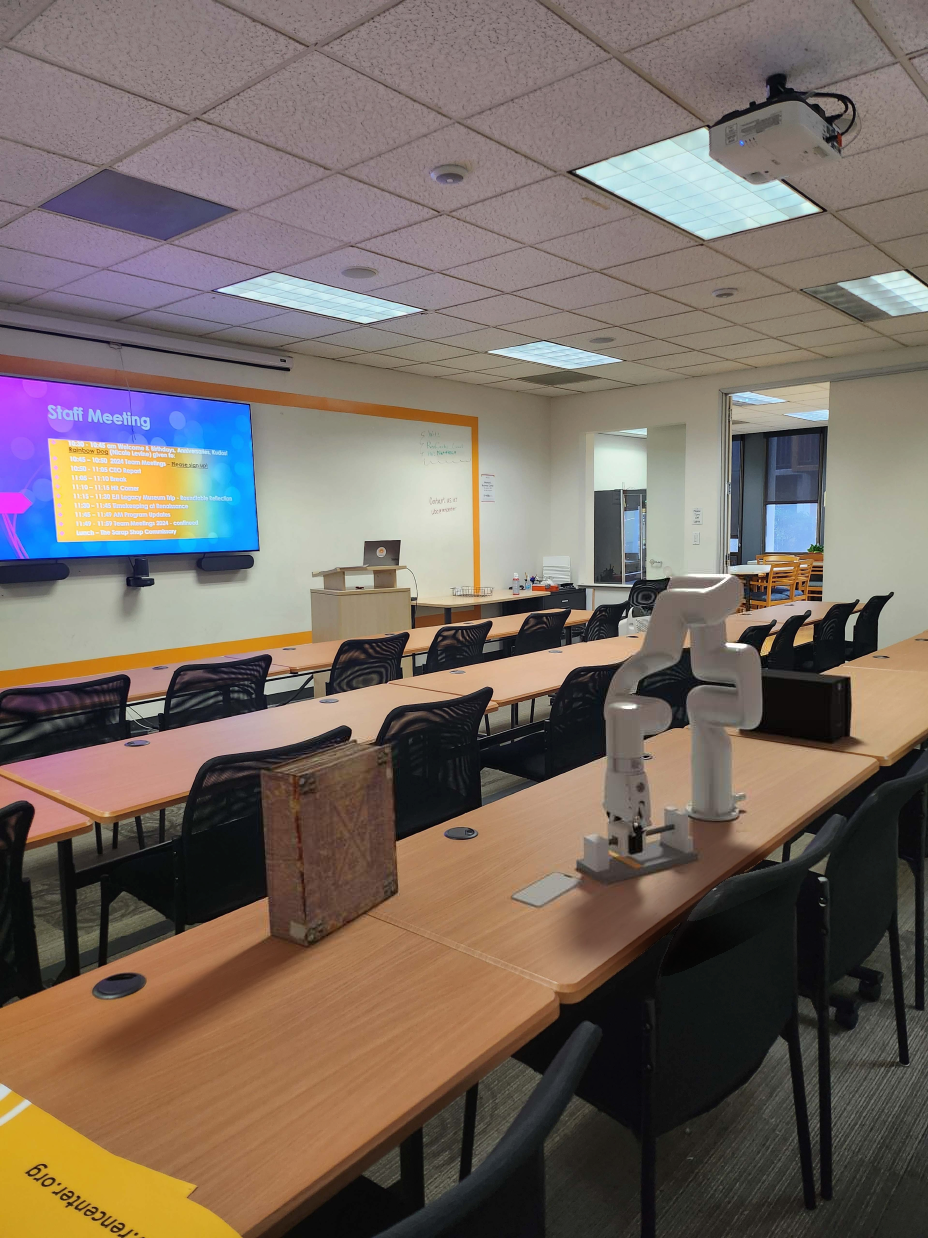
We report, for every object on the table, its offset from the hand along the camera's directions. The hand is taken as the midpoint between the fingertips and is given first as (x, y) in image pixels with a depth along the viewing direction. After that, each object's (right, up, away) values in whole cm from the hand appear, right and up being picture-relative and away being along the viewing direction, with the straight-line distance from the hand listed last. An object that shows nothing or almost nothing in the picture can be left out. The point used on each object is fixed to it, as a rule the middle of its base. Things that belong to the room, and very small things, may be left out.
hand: (626, 847), depth 167 cm
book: (-57, -8, -16) cm, 60 cm away
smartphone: (-17, -6, -9) cm, 21 cm away
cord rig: (+3, -4, +2) cm, 5 cm away
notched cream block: (0, -1, 0) cm, 1 cm away
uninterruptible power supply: (+78, +8, +109) cm, 134 cm away
